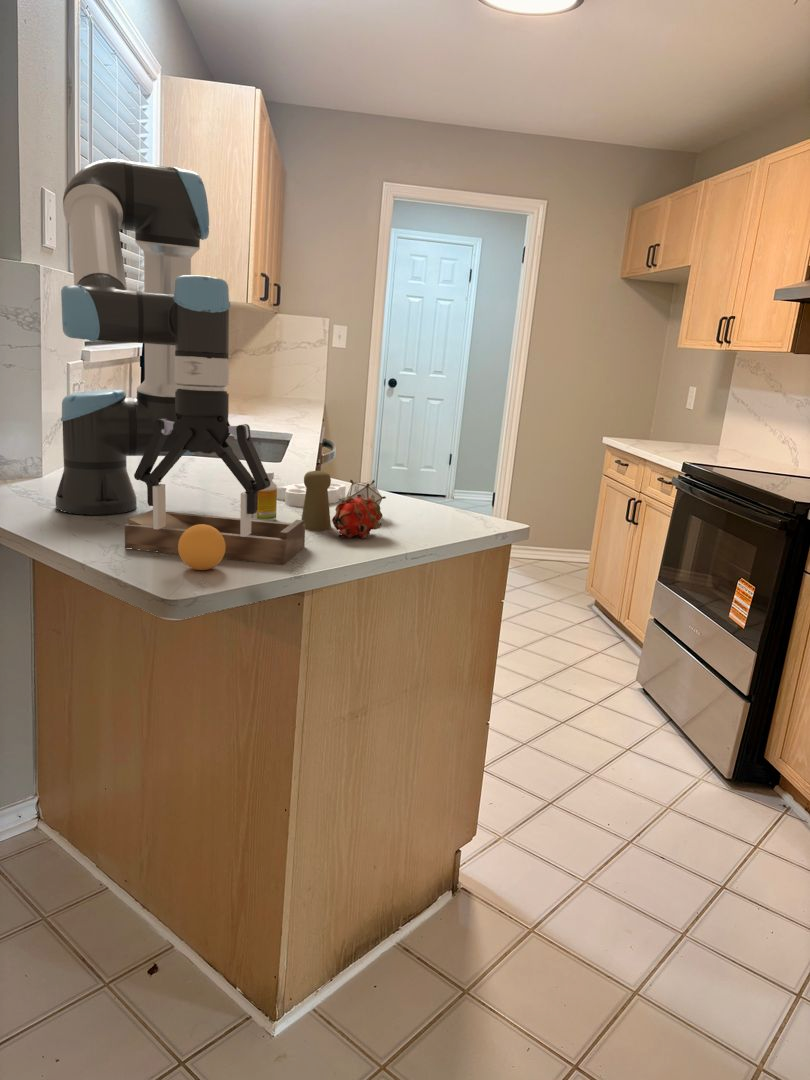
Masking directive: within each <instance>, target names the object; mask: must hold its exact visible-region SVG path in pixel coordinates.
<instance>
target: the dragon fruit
mask: <svg viewBox="0 0 810 1080" xmlns="http://www.w3.org/2000/svg"><path fill="white" fill-rule="evenodd" d="M344 501H345V502H343V503H342V502H340V503H338V504H337V505H336V506H335V509H334V510H335V515H334V516H333V517H332V518H331V523H332V525H333V526H334V528H335V530H336V531H338V533H339V534H338V537H339V538H346V539H351V538H352V537H355V536H359V537H360V538H361V539H362V540H365V539H366V538H367V537H368V536H370V532H372V531H371V530H378V529H381V527H382V523H379V522H380V521H381V520H383V513H382V512H381V506H380V505H379V504H377V503H375V499H374V498H368V499H367V500H365V499H363V498H362V496H361V495H357V499H353V498H349V497H348V498H347V499H346V500H345V499H344Z"/></svg>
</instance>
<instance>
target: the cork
mask: <svg viewBox="0 0 810 1080" xmlns="http://www.w3.org/2000/svg"><path fill="white" fill-rule="evenodd" d="M303 483H304V484H305V486H306V488H307V489H306V495H305V501H304V507H303V508H302V513H301V514H302V515H301V519H300V520H304V524H305V531H306V530H308V531H317V532H318V531H327V530H330V529H331V528H332V525H331V524H332V520H331V515H330V514H331V512H330V503H329V499H328V488H329V486H330V484H331V483H332V478H331V475H330V473H328V472H326V471H323V470H311V471H307V472H306V473H305V474H304V476H303Z"/></svg>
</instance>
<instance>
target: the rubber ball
mask: <svg viewBox="0 0 810 1080" xmlns="http://www.w3.org/2000/svg"><path fill="white" fill-rule="evenodd" d="M225 548H226V546H225V541H224V538H223V536H222V534H221V533H220V532H219V531H218V530H217V529H216V528H214V527H212V526H210V525H206V524H198V525H194V526H192V527H190V528H188V529H187V530H186V531H185V532H184V533H183V534H182V535H181V537H180V540H179V543H178V551H179V554H178V555H179V557H180V559H181V561H182V562H183V563H184V564H185V565H187V566H188V567H189V568H191V569H193V570H197V571H206V570H210V569H213V568H215V567H216V566H217V565H219V564H220V563H221V561H222V560H223V559H222V558H223V556H224V554H225Z"/></svg>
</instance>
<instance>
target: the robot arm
mask: <svg viewBox="0 0 810 1080" xmlns="http://www.w3.org/2000/svg"><path fill="white" fill-rule="evenodd" d="M62 196H63V198H62V209H63V215H64V217H65V220H66V222H67V224H68V225H69V226H70V235H71V253H72V268H73V269H72V272H73V285H68V284H67V285H64V286H63V287H62V288H61V291H60V294H61V295H60V297H61V298H60V301H61V320H62V321H61V323H62V326H61V327H62V332H63V333H64V335H65V336H66V337H67V338H70V339H78V340H88V341H89V342H116V343H117V342H118V343H137V344H144V380H143V381H142V383H140V384H139V385H138V386H137V387H136V397H135V396H134V397H127V394H126V393H125V390H124V389H99V390H91V391H90V390H89V391H88V390H86V391H79V392H73V393H70V394H67V395H65V396H64V397H63V398H62V402H61V417H60V421H61V422H62V424H61V425H62V450H63V451H62V452H63V453H62V455H63V457H62V458H63V471H62V472H63V473H62V474H61V478H60V482H59V483H58V484H59V485H58V487H57V488H58V489H57V491H56V495H55V509H56V508H57V509H59V510H62V511H66V512H70V513H69V514H72V513H75V514H74V515H83V514H86V516H90V515H92V516H93V515H96V516H99V515H114V514H115V515H116V514H122V513H127V512H131V511H133V510H135V509H137V508H138V507H137V495H136V493H135V489H134V487H133V484H132V482H131V478H130V476H129V473H128V469H127V466H128V465H127V457H141V459H140V461H139V463H138V466H137V469H136V470H135V472H134V474H133V477H134V479H135V480H137V481H141V482H144V483H145V485H146V487H147V491H146V493H147V497H146V499H147V500H146V501H147V504H148V506H149V507H152V510H153V529H160V528H162V527H165V526H166V512H167V509H166V507H167V505H166V504H167V503H166V497H167V496H166V484H165V483H161V482H162V480H163V479H164V477H165V476H166V475H167V474H168V472H169V471H170V470H171V469H172V468H173V467H174V466H175V465H176V464H177V462H178V461H179V460H180V458H182V457H187V456H189V457H190V456H193V455H195V454H196V453H199V452H200V453H203V454H214V453H215V454H216V456H218V457H219V458H220V459H221V460H222V462H223V463H224V464H225V466H226V467H227V468H228V469H229V470H230V471H231V473H232V474H233V476H234V477H235V478H236V480H237V481H238V482H239V484H240V485H241V486H242V487H243V489H244V490H245V491H242V492H240V517H239V518H240V536H241V537H246V536H247V535H249V534H251V514H255V513H256V512H257V510H258V492H259V490H263V489H266V488H268V487H269V486H270V484H271V483H270V480H269V478H268V476H267V474H266V472H265V470H266V469H265V467H264V465H263V463H262V461H261V459H260V456H259V454H258V452H257V450H256V448H255V445H254V443H253V440H252V438H251V436H252V435H251V428H250V425H249V424H247V423H243V424H239V425H231V424H230V421H229V409H230V407H229V403H230V402H229V398H230V397H229V393H228V391H227V390H225V389H226V388H228V387H229V385H230V383H229V382H230V381H229V379H230V377H229V375H230V372H229V371H230V369H229V368H230V367H229V347H230V345H229V342H230V341H229V335H230V334H229V333H230V332H229V331H230V308H231V301H230V294H229V292H230V291H229V285H228V282H227V281H226V280H224V279H223V278H219V277H214V276H206V275H194V274H193V275H192V258H193V256H194V255H195V254H196V253H197V252H198V251H199V250H200V248H201V247H200V246H201V245H200V243H201V240H202V241H204V240H207V238H209V234H210V227H209V226H210V213H209V204H208V202H209V201H208V198H207V192H206V188H205V185H204V181H203V180H202V177H201V176H200V175H199V174H198V173H197V172H194V171H191V170H188V169H183V168H179V167H176V166H166V165H159V164H153V163H152V164H150V163H145V162H137V161H128V160H124V159H119V158H118V159H117V158H111V159H110V158H109V159H103V160H102V159H101V160H98V161H95V162H92V163H91V164H88V165H87V166H85V167H83V168H82V169H80V170H79V171H78V172H77V173H75V174H74V176H73V177H72V178H71V179H70V180H69V182H68V184H67V185H66V187H65V189H64V192H63V195H62ZM120 230H124V231H130V232H134V233H135V235H134V236H135V239H134V240H135V243H136V245H137V246H138V247H139V248H140V249H141V251H143V265H144V266H143V269H144V270H143V272H144V275H143V278H144V280H143V284H144V288H143V291H142V290H128V289H127V281H126V272H125V265H124V259H123V258H124V256H123V250H122V242H121V233H120ZM230 435H232V436H233V438H234V439H235V441H237V443H238V446H239V449H240V451H241V453H242V456H243V457H244V459H245V462H246V464H247V466H248V468H249V471H250V472H251V474H250V472H249V471H248V470H247V468H246V466H245V465H243V463H242V462H241V460H240V458H238V456H237V455H236V454H235V453H234V450H233V448H232V447H231V445H230V444H229V443H228V441H227V440H228V438H229V437H230ZM158 457H163V459H161V461H159V463H158V464H157V466H156V467H155V468H154V466H155V464H156V462H157V460H158ZM153 468H154V469H153ZM253 477H254V479H253ZM57 509H56V510H57ZM59 510H58V511H59ZM62 511H61V512H62ZM66 512H65V513H66Z"/></svg>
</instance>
